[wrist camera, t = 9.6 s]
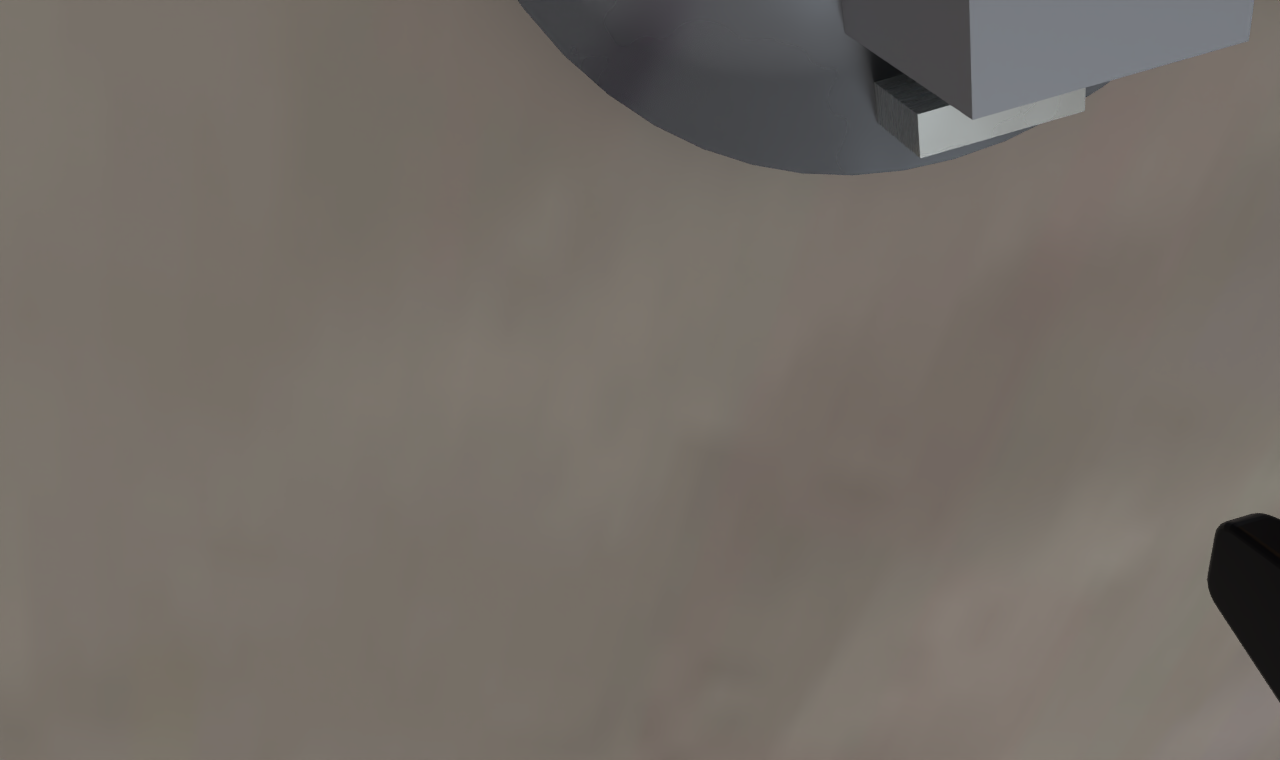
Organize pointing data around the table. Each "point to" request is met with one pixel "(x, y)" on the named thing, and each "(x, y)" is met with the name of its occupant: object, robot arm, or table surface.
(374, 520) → the table surface
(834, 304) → the table surface
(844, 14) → the tan and grey block
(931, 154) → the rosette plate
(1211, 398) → the table surface
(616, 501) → the table surface
